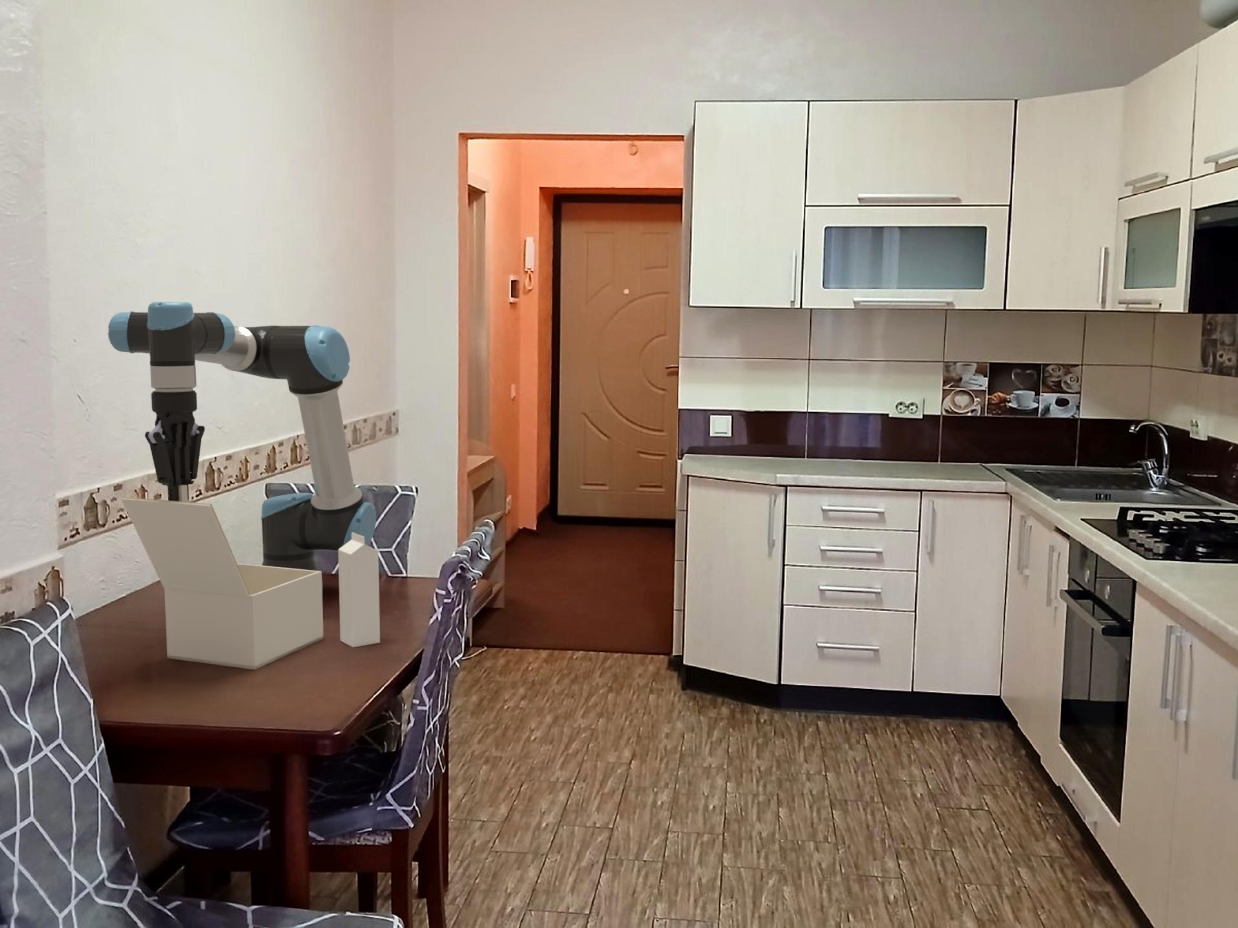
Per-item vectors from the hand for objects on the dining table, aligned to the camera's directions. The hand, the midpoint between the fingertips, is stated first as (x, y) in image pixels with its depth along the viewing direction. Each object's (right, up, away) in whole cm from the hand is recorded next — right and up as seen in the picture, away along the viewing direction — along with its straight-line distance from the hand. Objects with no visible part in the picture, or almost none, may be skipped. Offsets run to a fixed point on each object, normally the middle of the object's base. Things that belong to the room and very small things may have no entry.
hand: (179, 520), depth 209 cm
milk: (+27, -26, +26) cm, 45 cm away
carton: (+6, -26, +20) cm, 34 cm away
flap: (+1, -5, +2) cm, 5 cm away
